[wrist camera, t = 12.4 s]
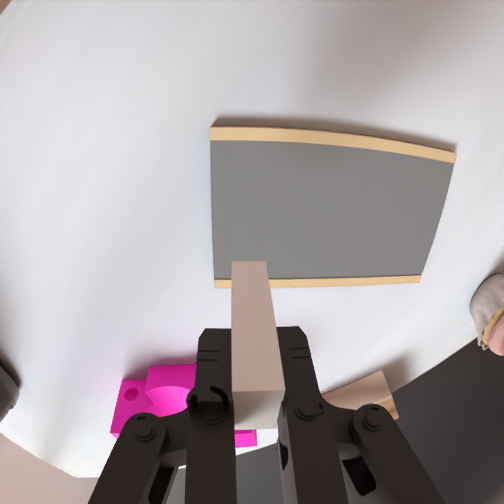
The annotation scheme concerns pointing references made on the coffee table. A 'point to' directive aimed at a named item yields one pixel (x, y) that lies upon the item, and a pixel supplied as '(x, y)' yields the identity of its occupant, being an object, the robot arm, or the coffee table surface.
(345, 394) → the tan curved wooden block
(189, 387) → the toy block
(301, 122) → the coffee table surface
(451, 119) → the coffee table surface
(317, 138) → the mat
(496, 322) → the cupcake
